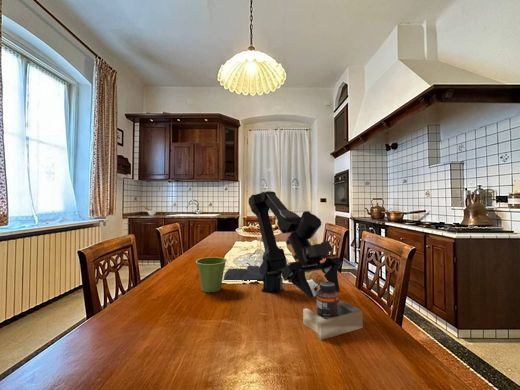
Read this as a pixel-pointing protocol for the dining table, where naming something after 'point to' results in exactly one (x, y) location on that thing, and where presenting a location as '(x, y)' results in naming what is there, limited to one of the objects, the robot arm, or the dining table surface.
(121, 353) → the dining table surface
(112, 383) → the dining table surface
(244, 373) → the dining table surface
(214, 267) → the plant pot
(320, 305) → the supplement bottle
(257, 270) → the dark slate chunk
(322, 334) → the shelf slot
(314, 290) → the white skull
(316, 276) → the pastry
